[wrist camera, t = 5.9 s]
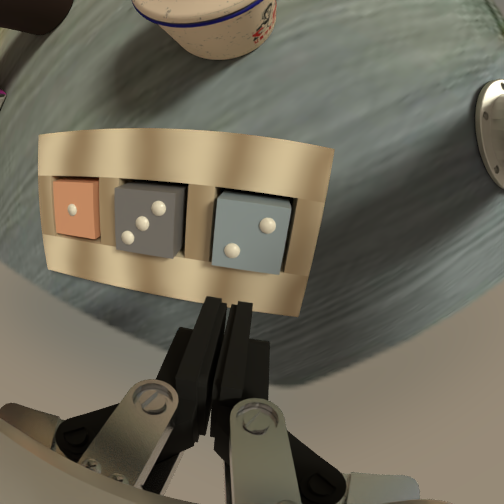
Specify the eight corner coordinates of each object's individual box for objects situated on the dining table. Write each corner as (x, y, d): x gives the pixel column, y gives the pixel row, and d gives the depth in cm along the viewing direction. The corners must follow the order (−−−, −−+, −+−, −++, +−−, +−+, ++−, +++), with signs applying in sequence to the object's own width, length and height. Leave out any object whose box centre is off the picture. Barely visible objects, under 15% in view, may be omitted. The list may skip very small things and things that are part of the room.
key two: (288, 199, 21) (291, 209, 18) (278, 258, 23) (279, 276, 20) (224, 190, 21) (217, 198, 18) (218, 249, 23) (211, 265, 20)
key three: (187, 186, 21) (174, 193, 18) (184, 244, 23) (172, 259, 20) (132, 181, 21) (113, 188, 19) (131, 236, 23) (115, 250, 20)
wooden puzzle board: (326, 148, 21) (334, 149, 18) (295, 298, 26) (298, 316, 24) (58, 133, 21) (39, 134, 18) (63, 258, 27) (48, 269, 24)
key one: (110, 177, 23) (92, 183, 20) (111, 228, 25) (94, 239, 22) (71, 175, 23) (52, 181, 20) (73, 223, 25) (55, 233, 22)
